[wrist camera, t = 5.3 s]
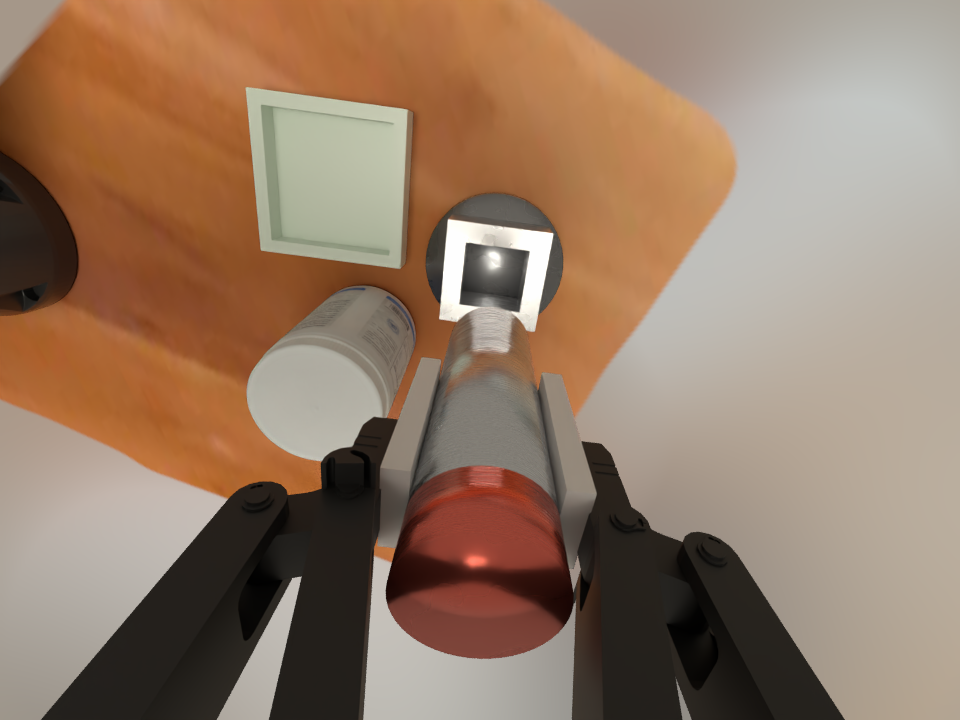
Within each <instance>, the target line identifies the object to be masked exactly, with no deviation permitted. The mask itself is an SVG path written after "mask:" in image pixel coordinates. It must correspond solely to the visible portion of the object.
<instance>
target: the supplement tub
mask: <svg viewBox="0 0 960 720" xmlns="http://www.w3.org/2000/svg"><path fill="white" fill-rule="evenodd" d="M415 342H416V331H415V326H414V322H413V319H412V317H411V315H410V313H409V311H408V310H407V308H406V307H405V306H404V305H403V304H402V302H401V301H400V300H398V299H397V298H396V297H395V296H393V295H392V294H390V293H389V292H387V291H385V290H382V289H380V288H377V287H373V286H351V287H347V288H344V289H341V290H339V291H337V292H336V293H334V294H333V295H331V296H330V297H329V298H328V299H326V300H325V301H324V302H323V303H322V304H321V305H319V306H318V307H317V308H316V309H315V310H314V311H312V312H311V313H310V314H309V315H308V316H307V317H306V318H304V319H303V320H302V321H301V322H300V323H299V324H297V325H296V326H295V327H294V328H293V329H292V330H290V331H289V332H288V333H287V334H286V335H285V336H283V337H282V338H281V339H280V340H279V341H278V342H277V343H276V344H274V345H273V346H272V347H271V348H270V349H269V350H268V351H267V352H266V353H265V354H264V356H263V357H262V359H261V360H260V361H259V362H258V363H257V365H256V366H255V367H254V369H253V370H252V372H251V375H250V377H249V380H248V384H247V402H248V407H249V410H250V413H251V415H252V417H253V419H254V421H255V423H256V424H257V426H258V427H259V428H260V430H261V431H262V432H263V433H264V435H265V436H266V437H267V438H269V439H270V440H271V441H272V442H273V443H274V444H276V445H277V446H279V447H280V448H282V449H283V450H285V451H287V452H289V453H291V454H293V455H296V456H299V457H302V458H305V459H309V460H315V461H322V460H323V459H324V457H325V456H326V455H328V454H329V453H330V452H332V451H334V450H337V449H340V448H345V447H352V446H353V445H354V442H355V440H356V438H357V437H358V434H359V432H360V430H361V428H362V426H363V424H364V423H366V422H367V421H368V420H370V419H371V418H372V417H381V418H387V416H388V413H389V411H390V409H391V406H392V404H393V401H394V399H395V396H396V394H397V391H398V389H399V386H400V384H401V381H402V379H403V376H404V374H405V371H406V369H407V366H408V363H409V361H410V358H411V356H412V353H413V350H414V347H415Z"/></svg>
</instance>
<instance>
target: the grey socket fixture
mask: <svg viewBox="0 0 960 720" xmlns="http://www.w3.org/2000/svg"><path fill="white" fill-rule="evenodd" d="M562 271H563V253H562V247H561V244H560V240H559V237H558V235H557V233H556V231H555V229H554V227H553V226H552V224H551V222H550V221H549V220H548V219H547V217H546V216H545V215H544V214H543V213H542V212H541V211H540V210H539V209H538V208H537V207H535V206H534V205H533V204H531V203H530V202H528V201H526V200H524V199H522V198H520V197H517V196H514V195H511V194H506V193H495V192H494V193H484V194H479V195H475V196H473V197H470V198H467V199H466V200H464V201H462V202H460V203H459V204H457V205H456V206H454V207H453V208H452V209H451V210H450V211H449V212H448V213H447V214H446V215H445V216H444V217H443V218H442V219H441V221H440V222H439V223H438V224H437V226H436V228H435V230H434V231H433V233H432V236H431V238H430V241H429V244H428V248H427V254H426V272H427V278H428V281H429V285H430V287H431V290H432V292H433V294H434V296H435V298H436V300H437V301H438V302H439V304H440V316H439V319H440V320H448V321H456V322H458V320H459V319H460V318H461V317H462V316H464V315H465V314H466V313H468V312H470V311H472V310H474V309H477V308H482V307H497V308H501V309H504V310H506V311H509V312H510V313H512V314H513V315H515V316H516V317H517V318H518V319H519V320H520V321H521V322H522V324H523V325H524V327H525V329H526V331H532V332H535V327H536V322H537V317H538V315H539V314H540V313H541V312H542V311H543V310H544V309H545V308H546V307H547V306H548V304H549V303H550V302H551V300H552V299H553V297H554V295H555V294H556V291H557V289H558V287H559V284H560V281H561V277H562Z"/></svg>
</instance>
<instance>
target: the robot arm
mask: <svg viewBox="0 0 960 720" xmlns="http://www.w3.org/2000/svg"><path fill="white" fill-rule="evenodd" d="M76 269H77V255H76V248H75V243H74V240H73V236H72V233H71V231H70V228H69V226H68V224H67V222H66V220H65V218H64V216H63V214H62V212H61V211H60V209H59V207H58V206H57V204H56V203H55V201H54V200H53V199H52V197H51V196H50V195H49V194H48V192H47V191H46V190H45V189H44V188H43V187H42V185H41V184H40V183H39V182H38V181H37V180H36V179H35V178H34V177H33V176H32V175H31V174H29V173H28V172H27V171H26V170H25V169H24V168H22V167H21V166H20V165H18V164H17V163H16V162H14V161H13V160H11V159H10V158H8V157H7V156H5V155H4V154H2V153H0V316H10V315H18V314H23V313H27V312H31V311H34V310H37V309H40V308H43V307H46V306H49V305H51V304H54V303H55V302H57V301H59V300H60V299H61V298H62V297H64V296H65V295H66V293H67V292H68V291H69V289H70V288H71V286H72V284H73V281H74V279H75V275H76ZM440 367H441V359H433V358H425V357H422V358H421V360H420V363H419V366H418V368H417V371H416V374H415V376H414V379H413V382H412V384H411V387H410V390H409V392H408V395H407V398H406V400H405V403H404V406H403V408H402V411H401V413H400V416H399V419H398V420H397V419H389V418H381V417H372V418H371V419H370V420H368V421H367V422H366V423H364V424H363V426H362V428H361V430H360V432H359V434H358V437H357V438H356V440H355V442H354V445H353V446H352V447H345V448H340V449H337V450H334V451H332V452H330V453H329V454H328V455H326V456H325V457H324V459H323V460H322V462H321V481H322V489H319V490H316V491H313V492H308V493H302V494H293V495H287V491H286V489H285V488H284V487H283V486H282V485H281V484H278V483H274V482H257V483H253V484H249V485H247V486H245V487H243V488H241V489H239V490H238V491H236V492H235V493H234V494H233V495H232V496H231V497H230V498H229V499H228V500H227V501H226V503H225V504H224V505H223V506H222V507H221V509H220V510H219V511H218V512H217V513H216V514H215V515H214V517H213V518H212V519H211V520H210V521H209V523H208V524H207V525H206V526H205V527H204V528H203V530H202V531H201V532H200V533H199V534H198V535H197V537H196V538H195V539H194V540H193V542H192V543H191V544H190V545H189V546H188V547H187V548H186V550H185V551H184V552H183V553H182V554H181V556H180V557H179V558H178V559H177V560H176V561H175V563H174V564H173V565H172V566H171V567H170V568H169V570H168V571H167V572H166V573H165V574H164V576H163V577H162V578H161V579H160V580H159V581H158V583H157V584H156V585H155V586H154V587H153V588H152V590H151V591H150V592H149V593H148V594H147V596H146V597H145V598H144V599H143V600H142V602H141V603H140V604H139V605H138V606H137V607H136V608H135V610H134V611H133V612H132V613H131V614H130V616H129V617H128V618H127V619H126V620H125V621H124V623H123V624H122V625H121V626H120V628H118V630H117V631H116V632H115V633H114V634H113V636H112V637H111V638H110V639H109V640H108V641H107V643H106V644H105V645H104V646H103V647H102V649H101V650H100V651H99V652H98V653H97V654H96V656H95V657H94V658H93V659H92V660H91V662H90V663H89V664H88V665H87V666H86V667H85V669H84V670H83V671H82V672H81V673H80V674H79V676H78V677H77V678H76V679H75V680H74V681H73V683H72V684H71V685H70V686H69V688H68V689H67V690H66V691H65V692H64V693H63V694H62V696H61V697H60V698H59V699H58V700H57V701H56V703H55V704H54V705H53V706H52V708H51V709H50V710H49V711H48V712H47V714H45V716H44V717H43V718H42V719H41V720H217V718H218V716H219V714H220V712H221V710H222V709H223V707H224V705H225V703H226V701H227V699H228V697H229V696H230V694H231V691H232V690H233V688H234V686H235V684H236V682H237V681H238V679H239V677H240V675H241V673H242V671H243V669H244V667H245V666H246V664H247V662H248V660H249V658H250V656H251V654H252V653H253V651H254V649H255V647H256V645H257V643H258V641H259V639H260V637H261V636H262V634H263V632H264V630H265V628H266V626H267V625H268V623H269V621H270V619H271V617H272V615H273V613H274V611H275V610H276V608H277V606H278V604H279V602H280V600H281V598H282V597H283V595H284V593H285V591H286V589H287V587H288V585H289V583H290V582H291V580H292V578H295V577H301V576H302V578H301V582H300V587H299V591H298V595H297V600H296V605H295V609H294V613H293V617H292V621H291V626H290V630H289V635H288V639H287V643H286V648H285V652H284V657H283V661H282V665H281V669H280V674H279V678H278V682H277V687H276V691H275V696H274V700H273V704H272V709H271V713H270V717H269V720H363V714H364V699H365V683H366V667H367V653H368V637H369V622H370V606H371V592H372V577H373V561H374V546H375V543H376V540H377V537H378V546H382V547H391V548H396V545H397V541H398V537H399V534H400V530H401V526H402V522H403V518H404V514H405V510H406V507H407V503H408V500H409V496H410V492H411V489H412V485H413V481H414V477H415V473H416V469H417V465H418V461H419V458H420V454H421V450H422V446H423V442H424V438H425V434H426V430H427V426H428V423H429V419H430V415H431V411H432V407H433V403H434V399H435V395H436V392H437V388H438V384H439V378H440ZM538 396H539V401H540V407H541V413H542V418H543V424H544V430H545V435H546V441H547V447H548V452H549V458H550V464H551V469H552V475H553V481H554V486H555V492H556V498H557V503H558V509H559V514H560V520H561V526H562V531H563V537H564V543H565V548H566V554H567V560H568V565H569V569H574V565H575V562H576V559H577V556H578V558H579V562H580V568H581V571H580V574H579V577H578V580H577V583H576V587H575V589H574V593H573V594H574V603H575V601H576V621H575V648H574V675H573V676H574V677H573V704H572V705H573V706H572V720H682V715H681V708H680V702H679V696H678V690H677V684H676V679H677V682H678V685H679V687H680V690H681V692H682V695H683V697H684V700H685V703H686V705H687V708H688V711H689V713H690V716H691V719H692V720H845V719H844V718H843V716H842V715H841V713H840V712H839V710H838V709H837V707H836V706H835V704H834V702H833V701H832V699H831V698H830V696H829V695H828V693H827V692H826V690H825V689H824V687H823V686H822V684H821V683H820V681H819V679H818V678H817V677H816V675H815V674H814V672H813V670H812V669H811V667H810V666H809V664H808V663H807V661H806V659H805V658H804V656H803V655H802V653H801V652H800V650H799V649H798V647H797V646H796V644H795V643H794V641H793V640H792V638H791V636H790V635H789V633H788V632H787V630H786V629H785V627H784V626H783V624H782V623H781V622H780V620H779V618H778V616H777V615H776V613H775V612H774V610H773V609H772V607H771V606H770V604H769V603H768V601H767V600H766V598H765V596H764V595H763V594H762V592H761V590H760V589H759V587H758V586H757V584H756V583H755V581H754V580H753V578H752V576H751V575H750V574H749V572H748V570H747V569H746V567H745V566H744V564H743V563H742V561H741V560H740V558H739V557H738V555H737V554H736V553H735V552H734V551H733V549H732V548H731V547H730V546H729V545H727V544H726V543H725V542H723V541H722V540H721V539H719V538H717V537H714V536H712V535H710V534H706V533H702V532H693V533H690V534H688V535H686V536H685V538H684V540H683V542H681V541H678V540H675V539H673V538H670V537H667V536H665V535H662V534H660V533H657V532H655V531H653V530H652V529H651V528H650V526H649V523H648V521H647V520H646V519H645V517H643V515H642V514H641V513H639V512H638V511H636V510H635V509H633V508H632V507H631V505H630V503H629V500H628V497H627V495H626V492H625V489H624V487H623V484H622V481H621V479H620V477H619V474H618V471H617V468H616V467H615V463H614V461H613V458H612V456H611V454H610V453H609V452H608V451H607V449H605V447H604V446H603V445H602V444H599V443H591V442H583V441H581V439H580V436H579V433H578V429H577V426H576V422H575V419H574V416H573V412H572V409H571V405H570V402H569V399H568V395H567V392H566V389H565V385H564V382H563V379H562V375H559V374H551V373H543V372H542V375H541V380H540V385H539V390H538ZM675 677H676V678H675Z"/></svg>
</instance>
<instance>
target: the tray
mask: <svg viewBox="0 0 960 720" xmlns="http://www.w3.org/2000/svg"><path fill="white" fill-rule="evenodd" d="M246 96H247V106H248V117H249V128H250V139H251V150H252V160H253V171H254V182H255V193H256V204H257V215H258V225H259V236H260V247H261V251H268V252H276V253H284V254H291V255H299V256H306V257H314V258H321V259H329V260H337V261H344V262H352V263H359V264H367V265H374V266H382V267H389V268H397V269H401V268H402V266H403V265H404V264H405V263H406V251H407V231H408V212H409V192H410V172H411V152H412V133H413V112H411V111H409V110H408V109H401V108H393V107H386V106H379V105H372V104H365V103H357V102H350V101H343V100H336V99H329V98H321V97H314V96H307V95H300V94H293V93H285V92H278V91H271V90H264V89H257V88H250V87H246Z"/></svg>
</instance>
